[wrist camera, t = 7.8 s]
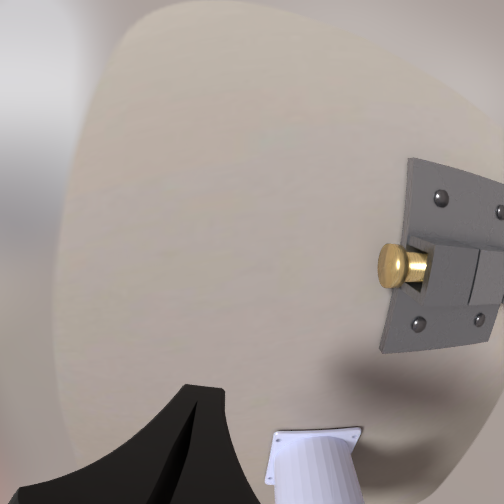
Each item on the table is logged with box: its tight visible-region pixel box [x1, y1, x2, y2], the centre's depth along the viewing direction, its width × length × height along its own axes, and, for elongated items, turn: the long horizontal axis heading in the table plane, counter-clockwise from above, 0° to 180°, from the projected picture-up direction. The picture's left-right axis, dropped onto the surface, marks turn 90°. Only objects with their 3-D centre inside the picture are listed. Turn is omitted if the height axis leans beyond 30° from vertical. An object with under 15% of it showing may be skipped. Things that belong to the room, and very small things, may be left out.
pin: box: [378, 244, 428, 288], centre depth 15 cm, size 3×14×3 cm, turn 87°
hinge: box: [379, 158, 504, 354], centre depth 15 cm, size 14×12×4 cm
